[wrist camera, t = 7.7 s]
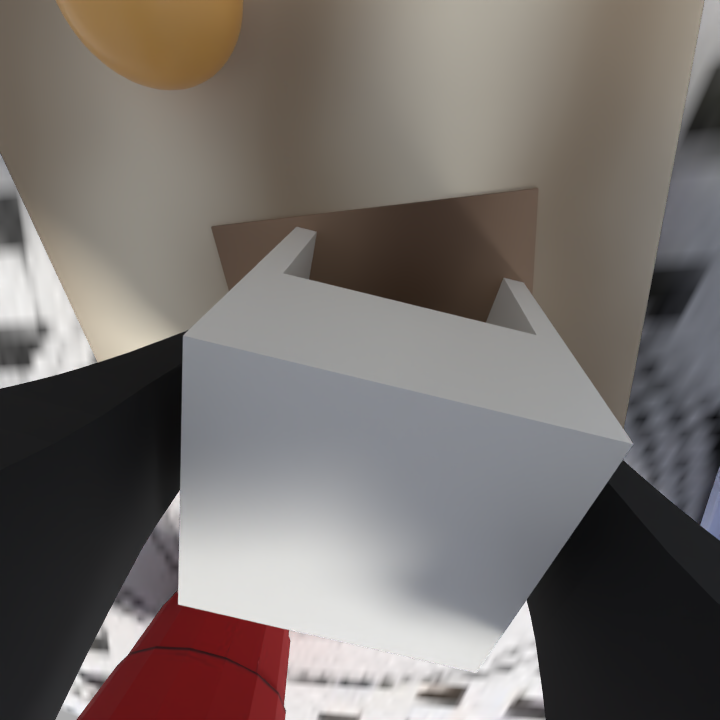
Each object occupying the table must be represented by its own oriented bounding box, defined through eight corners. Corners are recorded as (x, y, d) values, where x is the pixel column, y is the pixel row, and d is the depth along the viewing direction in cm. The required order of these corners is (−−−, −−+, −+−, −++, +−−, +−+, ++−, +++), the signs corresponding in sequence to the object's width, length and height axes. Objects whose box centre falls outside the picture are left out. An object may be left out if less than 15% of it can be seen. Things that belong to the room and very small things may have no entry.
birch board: (752, -498, 6) (829, -636, 5) (600, 445, 14) (616, 473, 13) (-121, -221, 8) (-203, -273, 7) (170, 459, 16) (152, 484, 15)
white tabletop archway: (523, 282, 11) (633, 444, 5) (450, 455, 13) (476, 673, 8) (296, 226, 10) (183, 335, 5) (270, 411, 13) (177, 604, 8)
